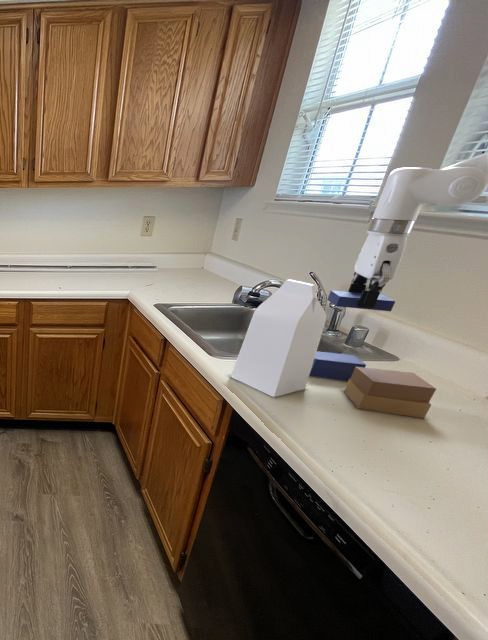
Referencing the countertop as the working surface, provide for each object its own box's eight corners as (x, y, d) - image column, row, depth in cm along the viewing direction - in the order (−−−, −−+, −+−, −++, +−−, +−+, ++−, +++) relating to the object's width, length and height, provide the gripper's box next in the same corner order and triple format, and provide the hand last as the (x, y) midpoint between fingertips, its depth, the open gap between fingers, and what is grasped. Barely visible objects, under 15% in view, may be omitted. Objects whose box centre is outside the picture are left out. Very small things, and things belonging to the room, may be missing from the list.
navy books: (349, 372, 113) (356, 355, 111) (359, 383, 107) (367, 365, 105) (300, 365, 117) (306, 349, 115) (308, 376, 111) (314, 358, 109)
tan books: (403, 399, 100) (417, 373, 97) (424, 418, 92) (439, 390, 89) (343, 390, 103) (354, 365, 100) (357, 408, 96) (370, 381, 93)
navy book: (379, 304, 105) (383, 294, 104) (391, 311, 99) (395, 301, 98) (327, 299, 108) (330, 290, 107) (336, 306, 103) (339, 296, 102)
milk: (230, 376, 110) (259, 278, 99) (260, 369, 114) (291, 275, 103) (273, 397, 100) (311, 290, 89) (305, 388, 104) (344, 286, 93)
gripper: (431, 232, 87) (393, 315, 95) (392, 224, 102) (362, 296, 110) (387, 231, 89) (354, 311, 97) (355, 223, 104) (328, 293, 112)
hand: (358, 302), depth 103 cm, fingers closed on navy book, 6 cm apart
